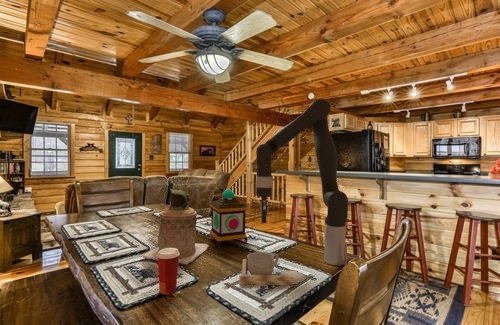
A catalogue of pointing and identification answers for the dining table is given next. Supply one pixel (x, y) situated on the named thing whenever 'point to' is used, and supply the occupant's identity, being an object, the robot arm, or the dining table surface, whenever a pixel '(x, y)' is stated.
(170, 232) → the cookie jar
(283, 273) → the felt coaster
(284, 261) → the dining table surface
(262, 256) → the teacup
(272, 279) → the cup rest
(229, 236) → the decorative lantern
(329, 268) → the dining table surface
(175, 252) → the paper cup
